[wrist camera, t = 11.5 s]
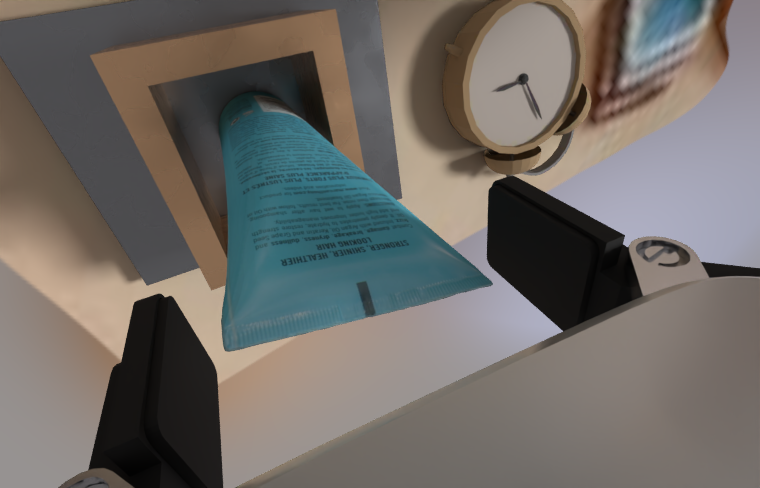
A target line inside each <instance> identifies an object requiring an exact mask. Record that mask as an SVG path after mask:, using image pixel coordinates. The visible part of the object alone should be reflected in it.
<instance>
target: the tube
mask: <svg viewBox="0 0 760 488" xmlns="http://www.w3.org/2000/svg"><path fill="white" fill-rule="evenodd" d="M219 136H220V142H221V148H222V155H223V163H224V170H225V179H226V194H227V210H228V253H227V276H226V287H225V296H224V302H223V308H222V319H221V324H222V338H223V346H224V349H225V351H229V352H230V351H235V350H240V349H243V348H247V347H251V346H255V345H259V344H263V343H267V342H272V341H276V340H280V339H284V338H288V337H293V336H297V335H302V334H306V333H309V332H312V331H316V330H321V329H326V328H330V327H333V326H336V325H340V324H344V323H348V322H352V321H356V320H360V319H364V318H366V317H373V316H377V315H381V314H385V313H390V312H393V311H397V310H402V309H405V308H409V307H413V306H418V305H422V304H426V303H429V302H432V301H436V300H440V299H444V298H447V297H450V296H453V295H455V294H458V293H462V292H467V291H471V290H475V289H478V288H482V287H488V286H491V285H493V283H492V282H491V281H490V280H489V279H488V278H487V277H485V276H484V275H483V274H482V273H481V272H480V271H479V270H478V269H477V268H476V267H475V266H474V265H472V264H471V263H470V262H469V261H468V260H467V259H465V258H464V257H463V256H462V255H461V254H459V253H458V252H457V251H456V250H455V249H454V248H452V247H451V246H450V245H449V244H448V243H446V242H445V241H444V240H443V239H442V238H440V237H439V236H438V235H437V234H436V233H435V232H433V231H432V230H431V229H430V228H429V227H428V226H426V225H425V224H424V223H423V222H422V221H421V220H419V219H418V218H417V217H416V216H415V215H414V214H412V213H411V212H410V211H409V210H408V209H407V208H405V207H404V206H403V205H402V204H401V203H400V202H398V201H397V200H396V199H395V198H394V197H392V196H391V195H390V194H389V193H388V192H387V191H385V190H384V189H383V188H382V187H381V186H380V185H378V184H377V183H376V182H375V181H374V180H373V179H371V178H370V177H369V176H368V175H367V174H366V173H364V172H363V171H362V170H361V169H360V168H359V167H358V166H356V165H355V164H354V163H353V162H352V161H351V160H349V159H348V158H347V157H346V156H345V155H344V154H342V153H341V152H340V151H339V150H338V149H337V148H336V147H334V146H333V145H332V144H331V143H330V142H329V141H327V140H326V139H325V138H324V137H323V136H322V135H321V134H320V133H318V132H317V131H316V130H315V129H314V128H313V127H312V126H310V125H309V124H308V123H307V122H306V121H305V120H304V119H303V118H302V117H300V116H299V115H298V114H297V113H296V112H295V111H294V110H292V109H291V108H290V107H289V106H288V105H287V104H286V103H284V102H283V101H282V100H281V99H279V98H277V97H276V96H274V95H271V94H268V93H265V92H258V91H253V92H247V93H243V94H241V95H238V96H237V97H235V98H234V99H232V100H231V101H230V102H229V103H228V104H227V105H226V107H225V108H224V110H223V111H222V114H221V116H220V121H219Z"/></svg>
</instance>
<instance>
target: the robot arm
mask: <svg viewBox="0 0 760 488" xmlns="http://www.w3.org/2000/svg"><path fill="white" fill-rule="evenodd" d="M624 237H625V235H623V234H621V233H620V232H618V231H616V230H614V229H612V228H610V227H608V226H606V225H605V224H603V223H601V222H599V221H597V220H595V219H593V218H591V217H590V216H588V215H586V214H584V213H582V212H580V211H578V210H577V209H575V208H573V207H571V206H569V205H567V204H565V203H564V202H562V201H560V200H558V199H556V198H554V197H552V196H550V195H549V194H547V193H545V192H543V191H541V190H539V189H538V188H536V187H534V186H532V185H530V184H528V183H526V182H525V181H523V180H521V179H519V178H517V177H515V176H509V177H506V178H503V179H500V180H497V181H495V182H494V183H493V185H492V187H491V188H490V189H489V195H488V234H487V260H488V263H489V265H490V266H491V267H492V268H493V269H494V270H495V271H496V272H497V273H499V274H500V275H501V276H502V277H503V278H504V279H505V280H506V281H507V282H509V283H510V284H511V285H512V286H513V287H514V288H515V289H516V290H518V291H519V292H520V293H521V294H522V295H523V296H524V297H526V298H527V299H528V300H529V301H530V302H531V303H532V304H533V305H534V306H536V307H537V308H538V309H539V310H540V311H541V312H543V314H545V315H546V316H547V317H548V318H549V319H550V320H551V321H552V322H554V323H555V324H556V325H557V326H558V327H559V328H560V329H561V330H563V332H561V333H559V334H557V335H555V336H553V337H550V338H548V339H546V340H544V341H542V342H540V343H538V344H535V345H533V346H531V347H529V348H527V349H525V350H522V351H520V352H518V353H516V354H514V355H512V356H509V357H507V358H505V359H503V360H501V361H499V362H497V363H494V364H492V365H490V366H488V367H486V368H484V369H482V370H480V371H477V372H475V373H473V374H471V375H469V376H467V377H464V378H462V379H460V380H458V381H456V382H454V383H452V384H450V385H448V386H445V387H443V388H441V389H439V390H437V391H435V392H432V393H430V394H428V395H426V396H424V397H422V398H420V399H418V400H415V401H413V402H411V403H409V404H407V405H405V406H403V407H401V408H399V409H397V410H394V411H393V412H390V413H388V414H386V415H384V416H382V417H380V418H377V419H375V420H373V421H371V422H370V423H367V424H365V425H363V426H361V427H359V428H356V429H354V430H352V431H350V432H348V433H346V434H344V435H342V436H340V437H337V438H335V439H333V440H331V441H329V442H327V443H325V444H323V445H321V446H318V447H317V448H314V449H312V450H310V451H308V452H306V453H304V454H302V455H300V456H298V457H296V458H294V459H292V460H290V461H288V462H286V463H284V464H282V465H280V466H278V467H276V468H274V469H272V470H270V471H268V472H266V473H264V474H262V475H259V476H258V477H256V478H254V479H251V480H249V481H247V482H245V483H243V484H241V485H239V486H238V487H236V488H760V268H751V267H742V266H733V265H724V264H715V263H706V262H701V261H700V259H699V257H698V256H697V254H696V253H695V252H694V251H693V250H692V249H691V248H690V247H688V246H687V245H685V244H683V243H681V242H678V241H676V240H672V239H668V238H663V237H642V238H638V239H636V240H634V241H632V242H631V244H630V245H629V247H626V246H625V245H623V241H624ZM59 488H223V475H222V456H221V439H220V420H219V401H218V382H217V372H216V369H215V366H214V364H213V362H212V360H211V359H210V357H209V355H208V354H207V352H206V350H205V349H204V347H203V345H202V344H201V342H200V341H199V339H198V337H197V336H196V334H195V332H194V331H193V329H192V327H191V326H190V324H189V322H188V321H187V319H186V318H185V316H184V314H183V313H182V311H181V309H180V308H179V306H178V304H177V303H176V301H175V300H174V298H173V297H172V296H168V297H164V296H163V295H162V294H156V295H153V296H150V297H147V298H144V299H141V300H138V301H136V302H135V303H134V305H133V310H132V315H131V319H130V324H129V329H128V333H127V338H126V343H125V347H124V352H123V357H122V362H121V363H119V364H116V366H114V367H113V370H112V372H111V376H110V380H109V384H108V389H107V393H106V397H105V401H104V405H103V410H102V414H101V418H100V422H99V427H98V431H97V435H96V440H95V444H94V448H93V452H92V456H91V461H90V465H89V469H88V471H85V472H82V473H80V474H78V475H76V476H75V477H73V478H71V479H69V480H68V481H66V482H65V483H63V484H62V485H61V486H60V487H59Z"/></svg>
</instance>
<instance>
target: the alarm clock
mask: <svg viewBox="0 0 760 488" xmlns="http://www.w3.org/2000/svg"><path fill="white" fill-rule="evenodd" d="M444 49H445V50H447V51H448V52H449V54H448V56H447V60H446V65H445V70H444V75H443V80H442V88H443V101H444V107H445V109H446V112H447V114H448V117H449V119H450V122H451V124H452V125H453V127H454V128H455V129H456V130H457V131H458V132H459V134H460V135H461V136H462V137H463V138H465V139H467V140H469V141H470V142H472V143H474V144H476V145H479V146H483V147H486V148H489V149H492V150H494V151H496V152H498V154H496V155H490V154H489V152H488V149H487V150H486V151H485V152H484V158H485V162H486V164H487V166H488V167H489V168H490V169H492V170H493V171H495V172H497V173H500V174H506V176H507V177H509V176H513V175H515V174H521V173H523V174H526V175H539V174H542V173H544V172H546V171H548V170H550V169H551V168H552V167H554V166H555V165H556V164H557V163H558V162H559V161H560V160H561V158H562V157H563V156H564V154H565V153H566V151H567V149H568V147H569V145H570V143H571V140H572V137H573V132H574V129H576V128H577V127H578V126H579V125H580V124H581V123H582V122H583V121H584V119H585V118H586V116H587V114H588V112H589V110H590V105H591V97H590V93H589V90H588V89H587V88H586V86H585V85H584V84H583V83H582V81H583V78H584V70H585V59H586V49H585V42H584V35H583V29H582V27H581V25H580V23H579V21H578V19H577V17H576V15H575V13H574V11H573V10H572V9H571V8H570V7H569V6H568V5H567V4H565V3H564V2H563V1H562V0H495V1H492V2H491V3H489V4H488V5H486V6H485V7H483V8H482V9H480V10H479V11H477V12H476V13H474V14H473V16H472V17H471V18H470V19H469V20H468V22H467V23H466V24H465V25H464V27H463V28H462V29H461V30H460V31H459V33H458V35H457V37H456V39H455V41H454V43H453V45H452V44H448V43H447V44H446V45H445V47H444ZM552 135H563V136H562V139H561V142H560V144H559V146H558V148H557V149H556V151H555V152H554V153H553V155H552V156H551V157H550V158H549V159H548V160H547V161H546V162H545V163H543V164H542V165H541V166H539V167H537V168H535V169H532V170H530V169H531V168H532V167H534V166H535V165H536V164H537V162H538V160H539V158H540V154H541V148H540V147H539V146H538V145H540V144H541V143H543V142H544V141H546V140H547V139H548V138H550V137H551V136H552Z"/></svg>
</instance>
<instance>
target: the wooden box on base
mask: <svg viewBox="0 0 760 488" xmlns="http://www.w3.org/2000/svg"><path fill="white" fill-rule="evenodd" d="M0 56H1V58H2V59H3V61H4V62H5V64H6V66H7V67H8V69H9V70H10V72H11V73H12V75H13V77H14V78H15V80H16V81H17V83H18V84H19V86H20V87H21V89H22V91H23V92H24V94H25V95H26V97H27V98H28V100H29V102H30V103H31V105H32V106H33V108H34V109H35V111H36V113H37V114H38V116H39V117H40V119H41V120H42V122H43V123H44V125H45V127H46V128H47V130H48V131H49V133H50V134H51V136H52V138H53V139H54V141H55V142H56V144H57V145H58V147H59V149H60V150H61V152H62V153H63V155H64V156H65V158H66V160H67V161H68V163H69V164H70V166H71V167H72V169H73V170H74V172H75V174H76V175H77V177H78V178H79V180H80V181H81V183H82V185H83V186H84V188H85V189H86V191H87V192H88V194H89V196H90V197H91V199H92V200H93V202H94V203H95V205H96V206H97V208H98V210H99V211H100V213H101V214H102V216H103V217H104V219H105V221H106V222H107V224H108V225H109V227H110V228H111V230H112V232H113V233H114V235H115V236H116V238H117V239H118V241H119V243H120V244H121V246H122V247H123V249H124V250H125V252H126V253H127V255H128V257H129V258H130V260H131V261H132V263H133V264H134V266H135V268H136V269H137V271H138V272H139V274H140V275H141V277H142V279H143V280H144V282H145V283H146V285H150V284H153V283H156V282H159V281H162V280H165V279H168V278H171V277H174V276H176V275H179V274H182V273H185V272H188V271H191V270H194V269H197V268H200V269H201V271H202V273H203V275H204V277H205V279H206V281H207V283H208V285H209V287H210V288H211V290H214V289H216V288H219V287H222V286H225V285H226V276H227V253H228V210H227V194H226V179H225V170H224V163H223V155H222V148H221V142H220V136H219V121H220V116H221V114H222V111H223V110H224V108H225V107H226V105H227V104H228V103H229V102H230V101H231V100H232V99H234V98H235V97H237V96H238V95H241V94H243V93H247V92H253V91H258V92H265V93H268V94H271V95H274V96H276V97H277V98H279V99H281V100H282V101H283V102H284V103H286V104H287V105H288V106H289V107H290V108H291V109H292V110H294V111H295V112H296V113H297V114H298V115H299V116H300V117H302V118H303V119H304V120H305V121H306V122H307V123H308V124H309V125H310V126H312V127H313V128H314V129H315V130H316V131H317V132H318V133H320V134H321V135H322V136H323V137H324V138H325V139H326V140H327V141H329V142H330V143H331V144H332V145H333V146H334V147H336V148H337V149H338V150H339V151H340V152H341V153H342V154H344V155H345V156H346V157H347V158H348V159H349V160H351V161H352V162H353V163H354V164H355V165H356V166H358V167H359V168H360V169H361V170H362V171H363V172H364V173H366V174H367V175H368V176H369V177H370V178H371V179H373V180H374V181H375V182H376V183H377V184H378V185H380V186H381V187H382V188H383V189H384V190H385V191H387V192H388V193H389V194H390V195H391V196H392V197H394V198H395V199H396V200H398V199H401V198H402V193H401V185H400V177H399V169H398V161H397V153H396V145H395V137H394V129H393V121H392V113H391V105H390V97H389V89H388V81H387V73H386V65H385V57H384V49H383V41H382V33H381V25H380V17H379V9H378V1H377V0H134V1H128V2H121V3H115V4H109V5H103V6H96V7H90V8H84V9H77V10H71V11H65V12H59V13H52V14H46V15H40V16H34V17H27V18H21V19H15V20H9V21H2V22H0Z"/></svg>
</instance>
